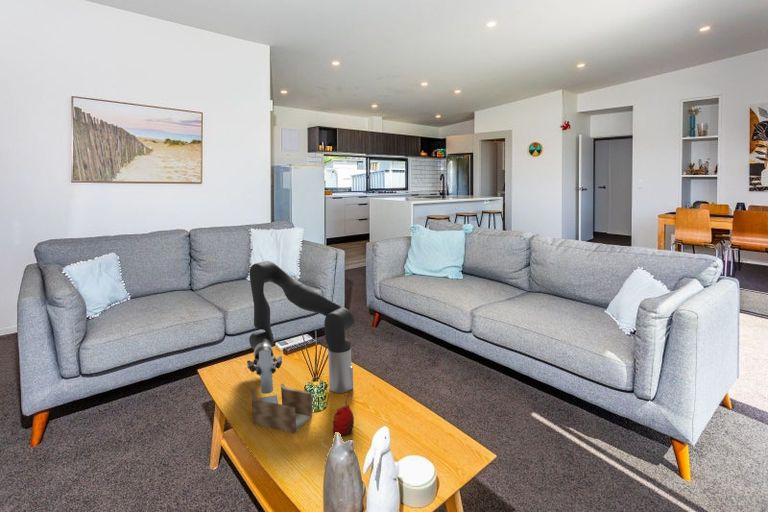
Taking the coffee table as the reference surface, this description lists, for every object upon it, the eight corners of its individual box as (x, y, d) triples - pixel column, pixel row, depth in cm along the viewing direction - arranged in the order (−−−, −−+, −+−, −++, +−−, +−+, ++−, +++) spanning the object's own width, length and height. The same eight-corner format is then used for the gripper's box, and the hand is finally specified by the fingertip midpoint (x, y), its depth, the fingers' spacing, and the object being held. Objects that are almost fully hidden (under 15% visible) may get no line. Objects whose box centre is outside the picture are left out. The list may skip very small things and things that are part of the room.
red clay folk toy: (343, 422, 147) (342, 383, 145) (358, 429, 143) (357, 389, 141) (328, 433, 141) (327, 392, 138) (344, 440, 137) (343, 398, 134)
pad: (276, 395, 166) (276, 394, 166) (278, 404, 160) (278, 403, 160) (258, 398, 164) (258, 398, 164) (259, 407, 157) (259, 406, 157)
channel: (307, 401, 162) (306, 379, 160) (316, 429, 144) (315, 405, 142) (252, 411, 155) (251, 388, 154) (254, 441, 137) (252, 416, 135)
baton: (272, 387, 164) (270, 348, 161) (273, 392, 160) (271, 353, 157) (261, 389, 162) (258, 350, 159) (261, 394, 158) (259, 355, 155)
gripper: (245, 348, 170) (245, 365, 154) (280, 343, 174) (285, 360, 158) (246, 365, 171) (247, 384, 155) (281, 360, 176) (286, 378, 160)
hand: (266, 372), depth 157 cm, fingers closed on baton, 4 cm apart
